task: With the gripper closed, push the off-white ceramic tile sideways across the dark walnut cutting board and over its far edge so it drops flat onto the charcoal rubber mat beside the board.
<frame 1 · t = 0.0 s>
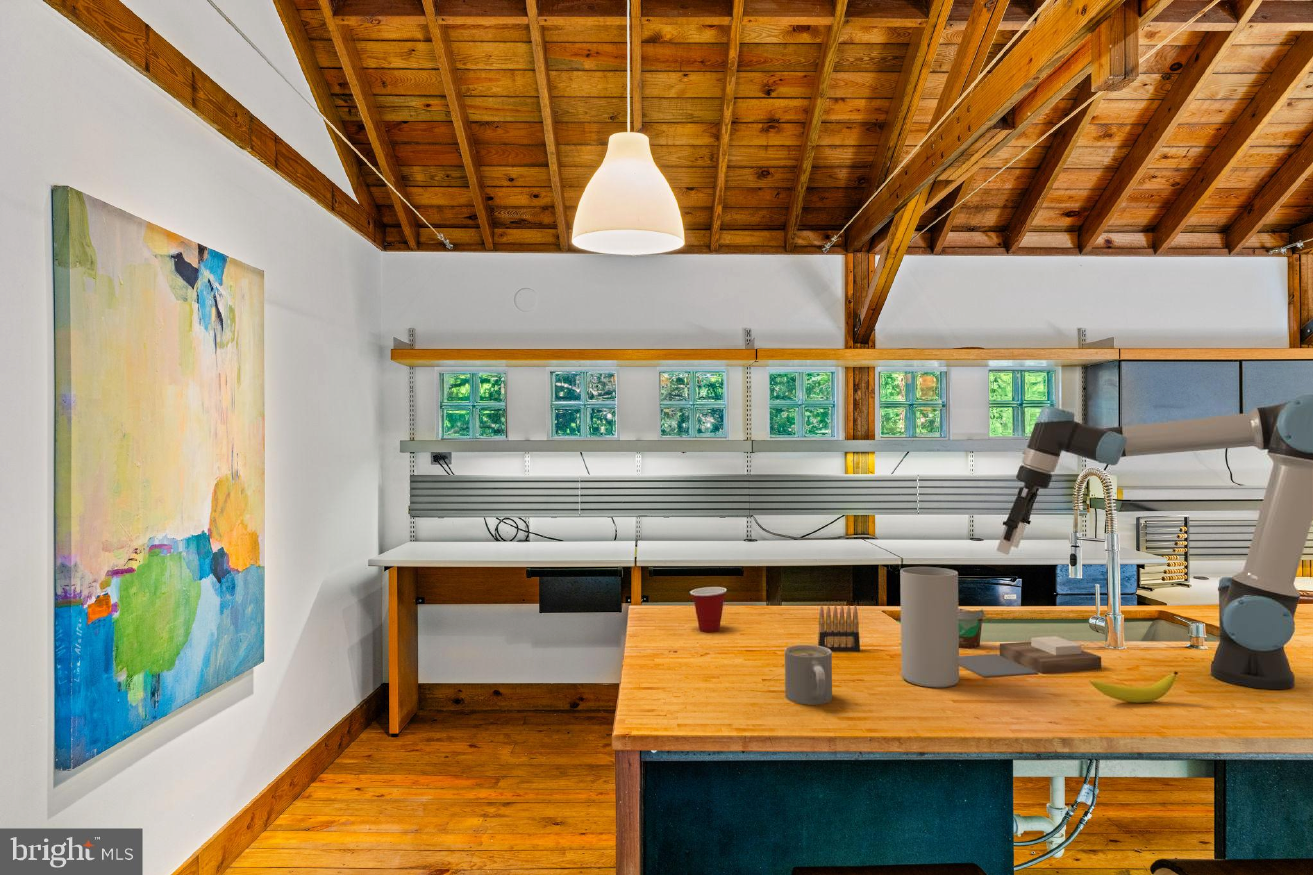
hand: (1007, 549, 192), 28 cm above the counter, tool tilted 20°, fingers open, 13 cm apart
banana: (1133, 704, 161), on the counter
walnut board: (1048, 662, 191), on the counter
cylinder vase: (930, 680, 178), on the counter
ammunition clip: (838, 651, 203), on the counter
charcoal mat: (990, 666, 188), on the counter
coffee mug: (809, 700, 165), on the counter
food container: (959, 647, 206), on the counter
ceramic tile: (1055, 649, 191), point 3 cm above the counter, touching walnut board
plastic cup: (708, 630, 227), on the counter
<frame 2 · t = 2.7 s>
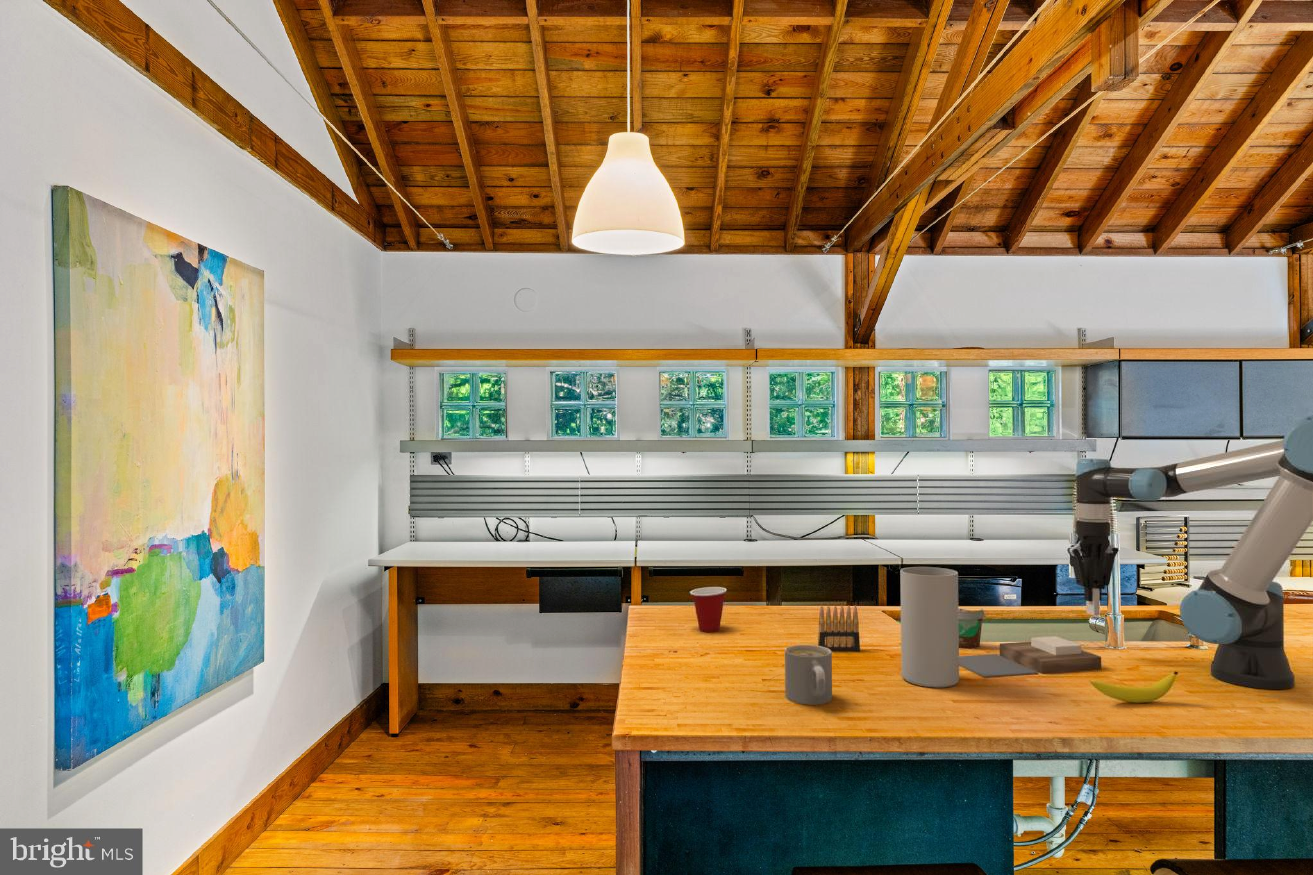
hand: (1092, 613, 194), 11 cm above the counter, tool pointing down, fingers closed
nothing on the counter moved.
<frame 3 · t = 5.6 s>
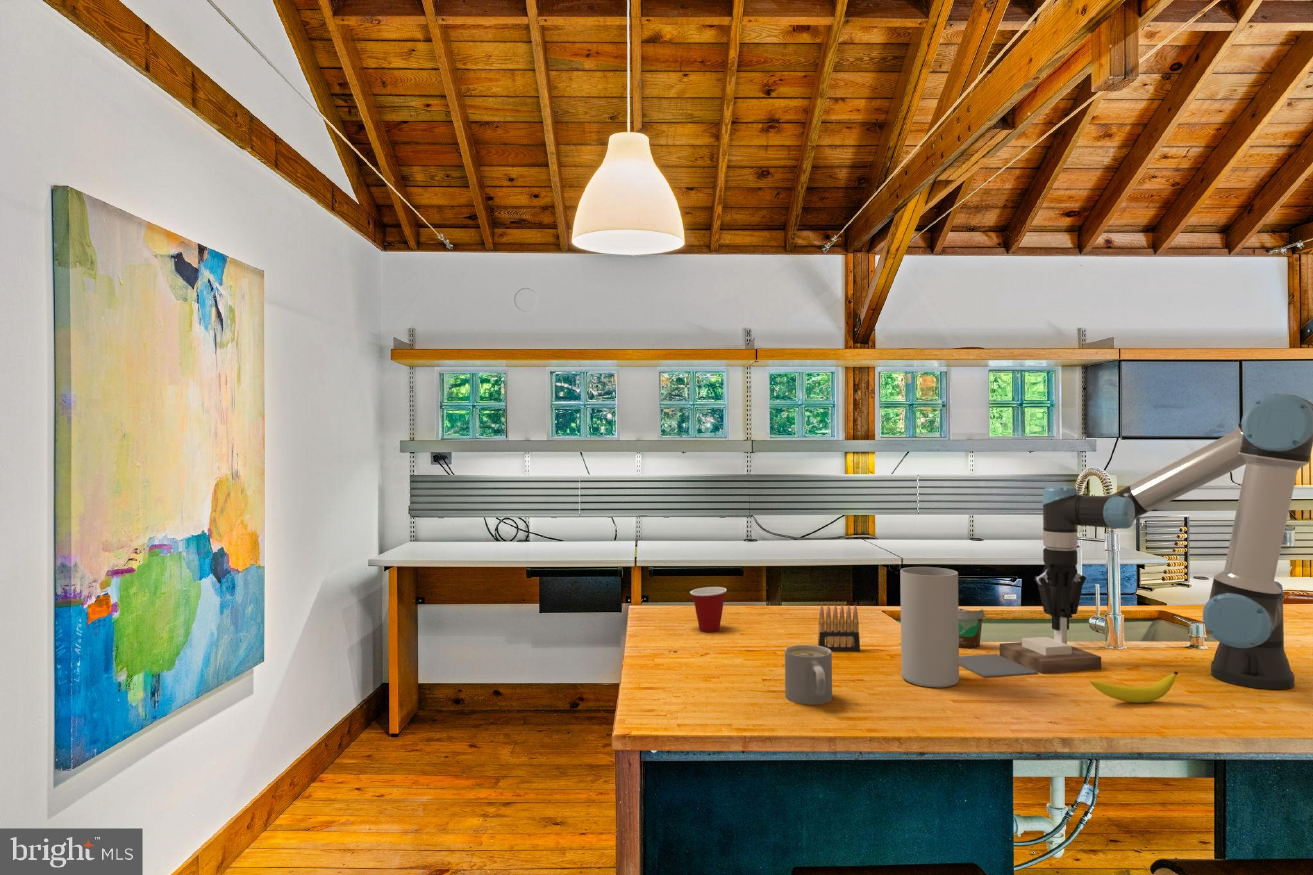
hand: (1060, 642, 192), 4 cm above the counter, tool pointing down, fingers closed
ceramic tile: (1046, 649, 191), point 3 cm above the counter, touching gripper
everything else where it was.
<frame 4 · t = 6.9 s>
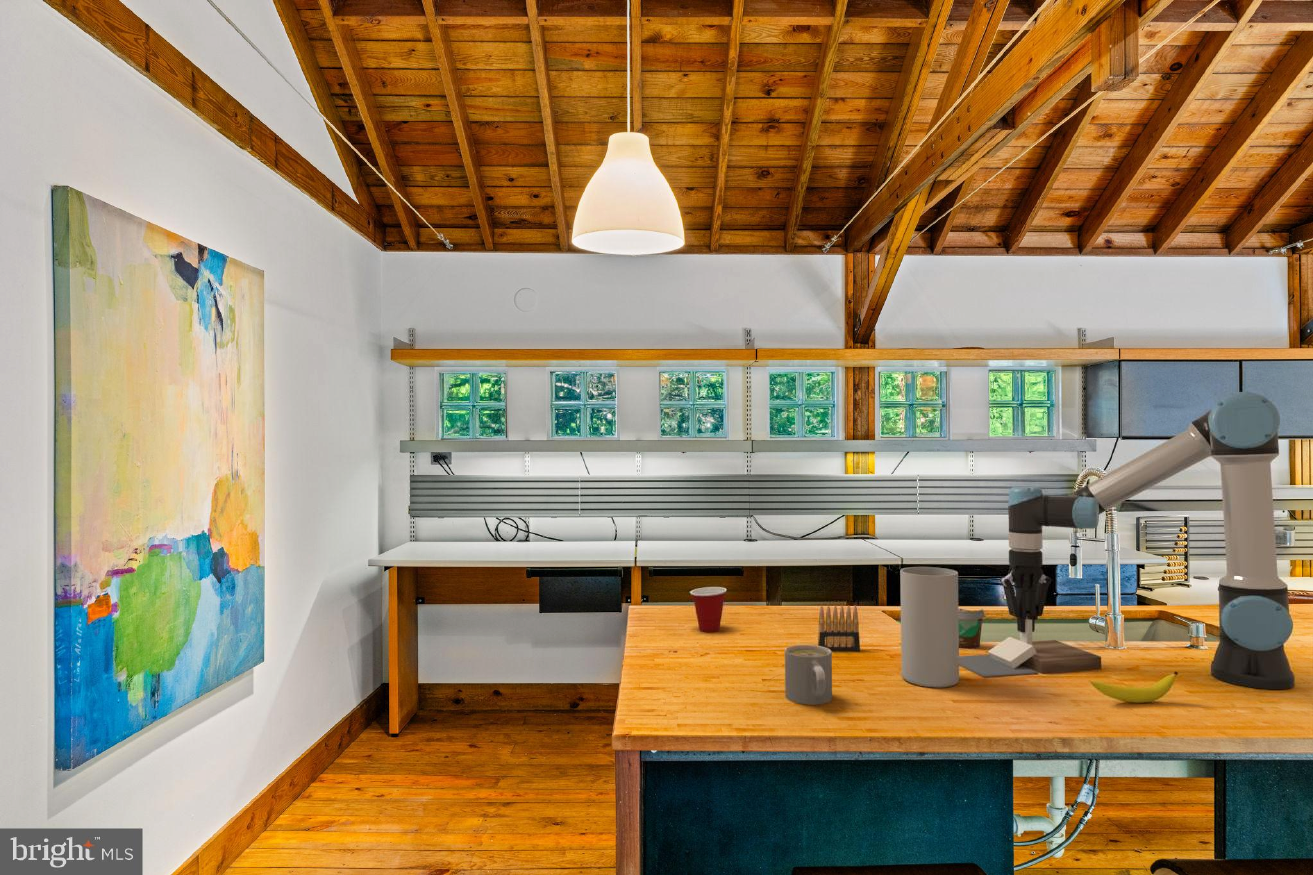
hand: (1026, 645, 190), 4 cm above the counter, tool pointing down, fingers closed
ceramic tile: (1013, 655, 189), point 2 cm above the counter, tilted 29°, touching gripper
everything else where it was.
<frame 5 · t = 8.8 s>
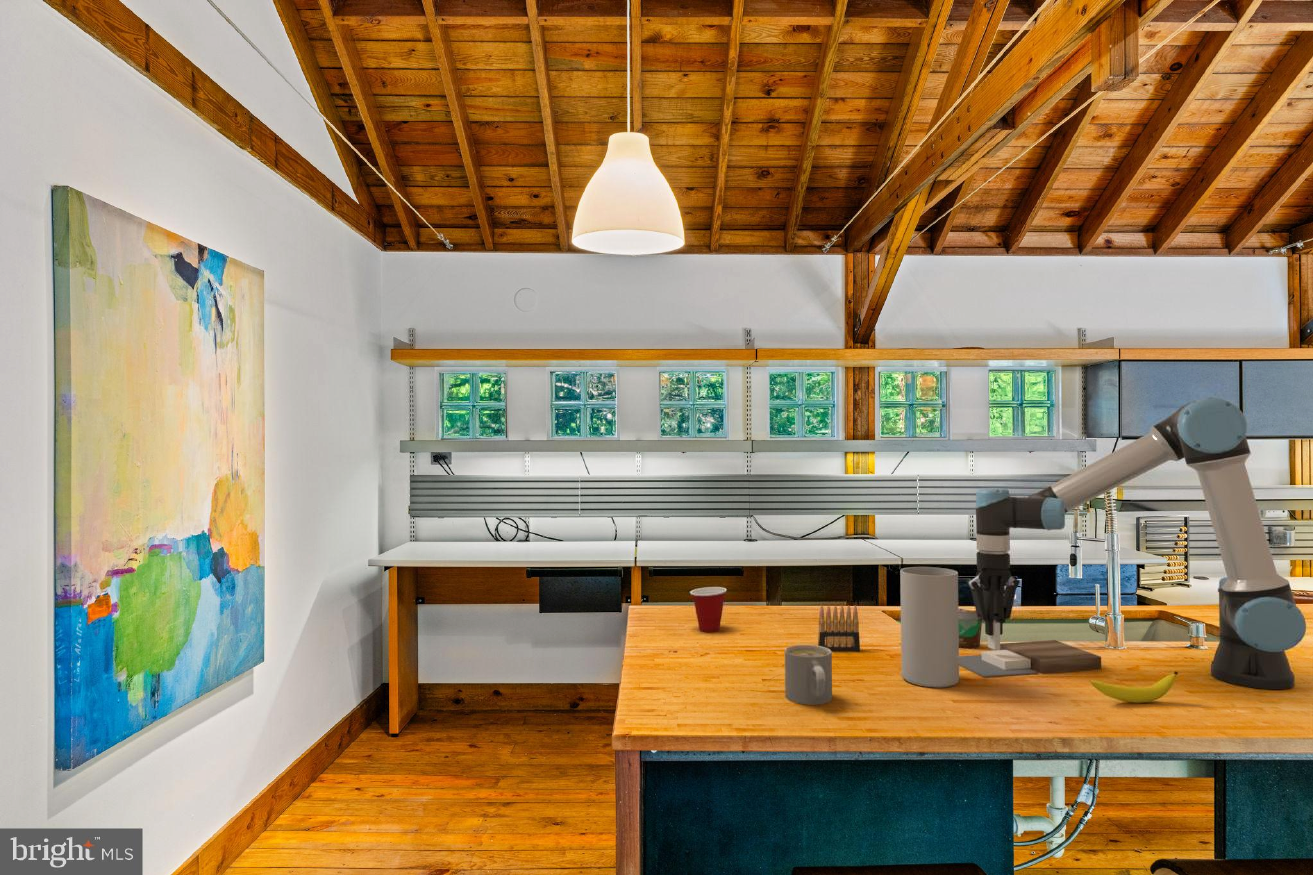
hand: (994, 648, 188), 4 cm above the counter, tool pointing down, fingers closed
ceramic tile: (1005, 663, 189), resting on charcoal mat
everything else where it was.
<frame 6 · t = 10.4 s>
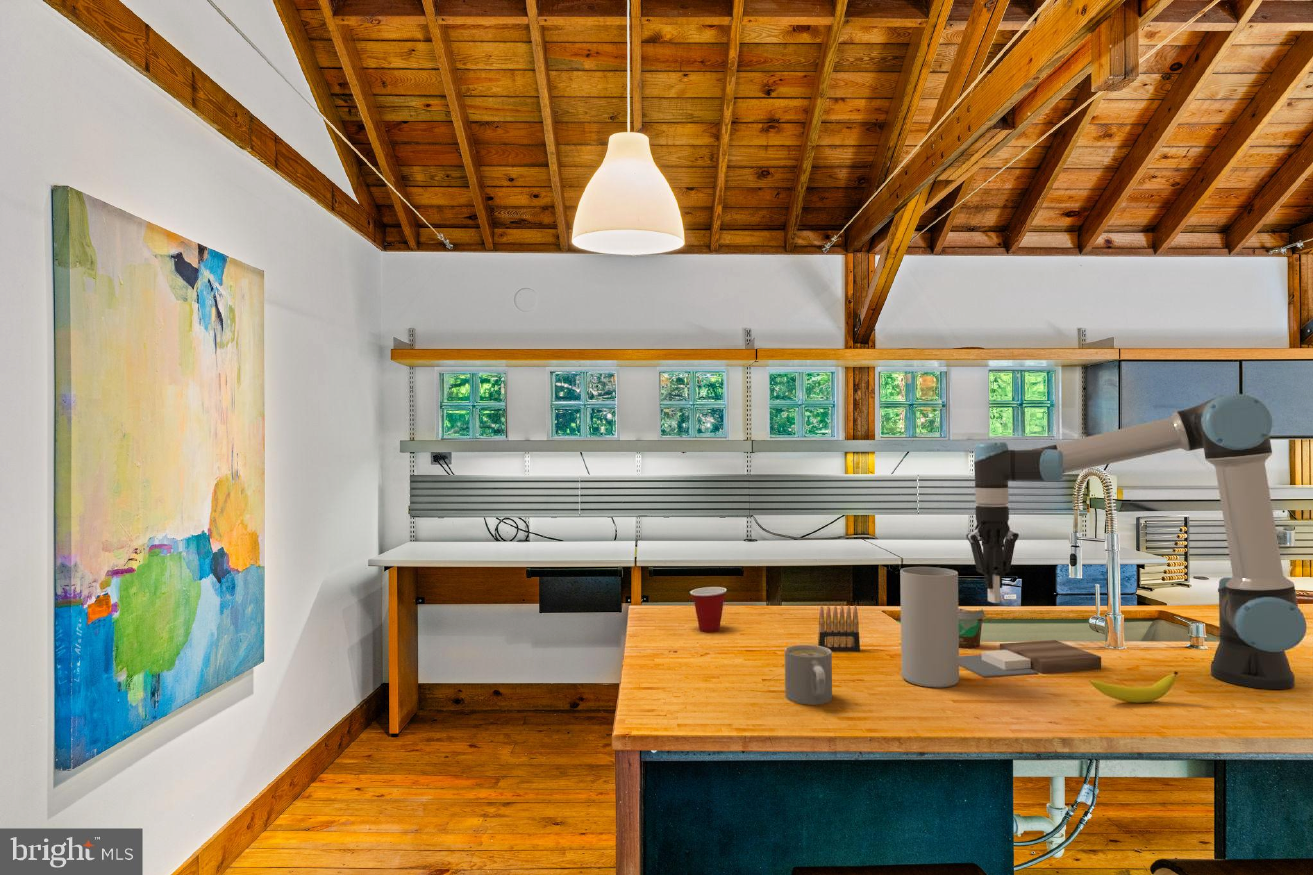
hand: (993, 601, 188), 16 cm above the counter, tool pointing down, fingers closed
nothing on the counter moved.
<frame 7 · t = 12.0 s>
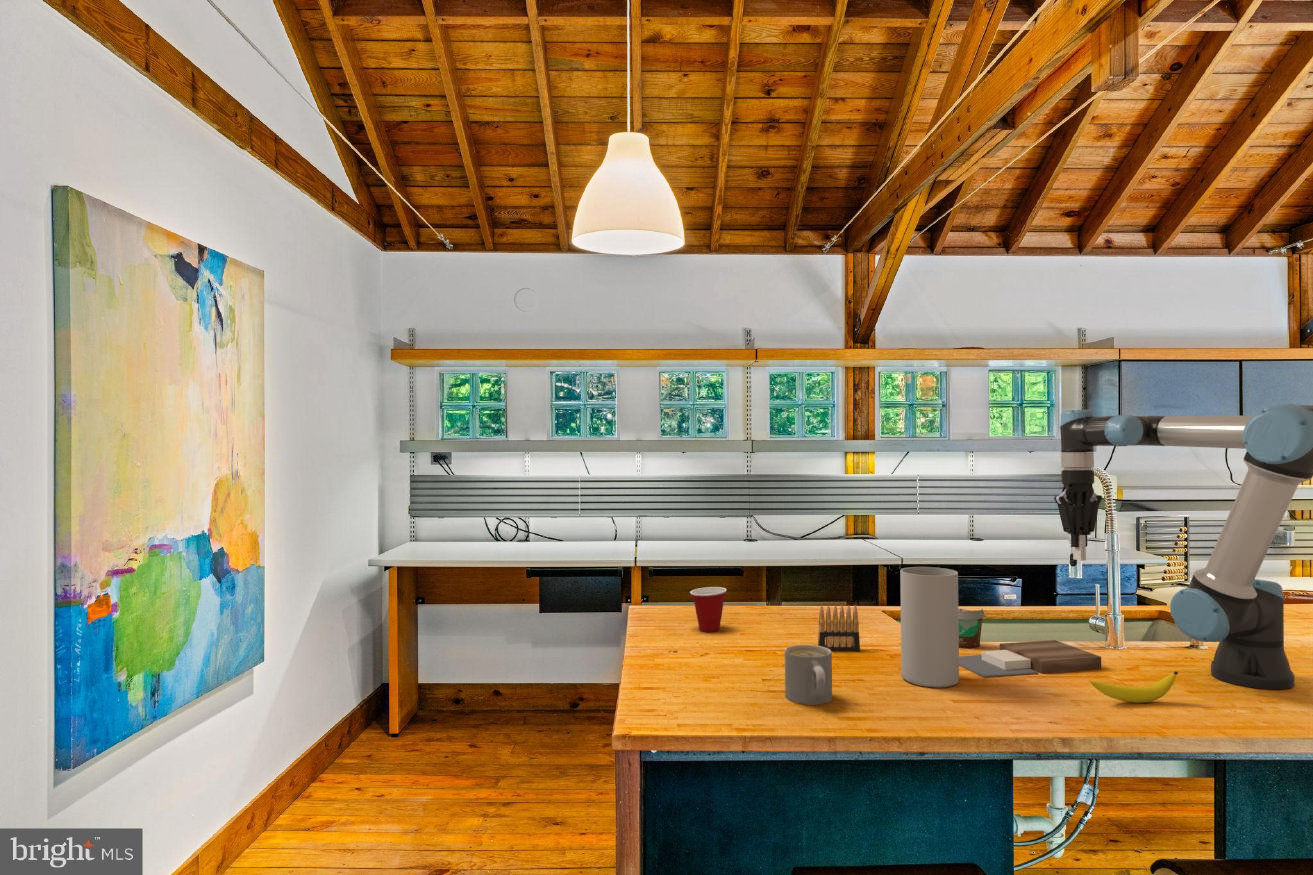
hand: (1079, 559, 201), 24 cm above the counter, tool pointing down, fingers closed
nothing on the counter moved.
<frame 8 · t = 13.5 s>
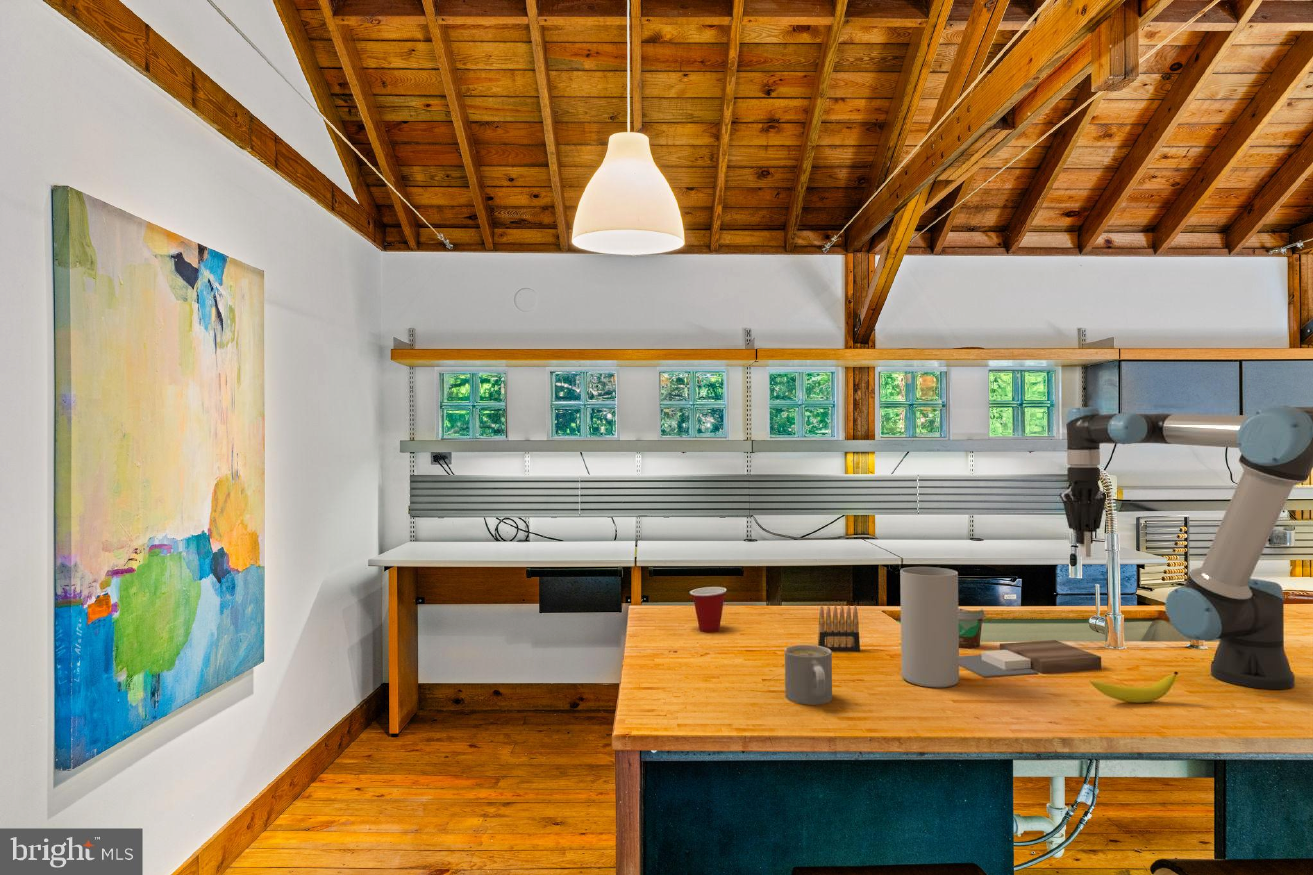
hand: (1084, 556, 202), 24 cm above the counter, tool pointing down, fingers closed
nothing on the counter moved.
at the end: ceramic tile inside the target area on the charcoal mat (4.1 cm from its centre), point 0.4 cm above the charcoal mat's base; ceramic tile tilted 0°; the gripper is holding nothing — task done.
